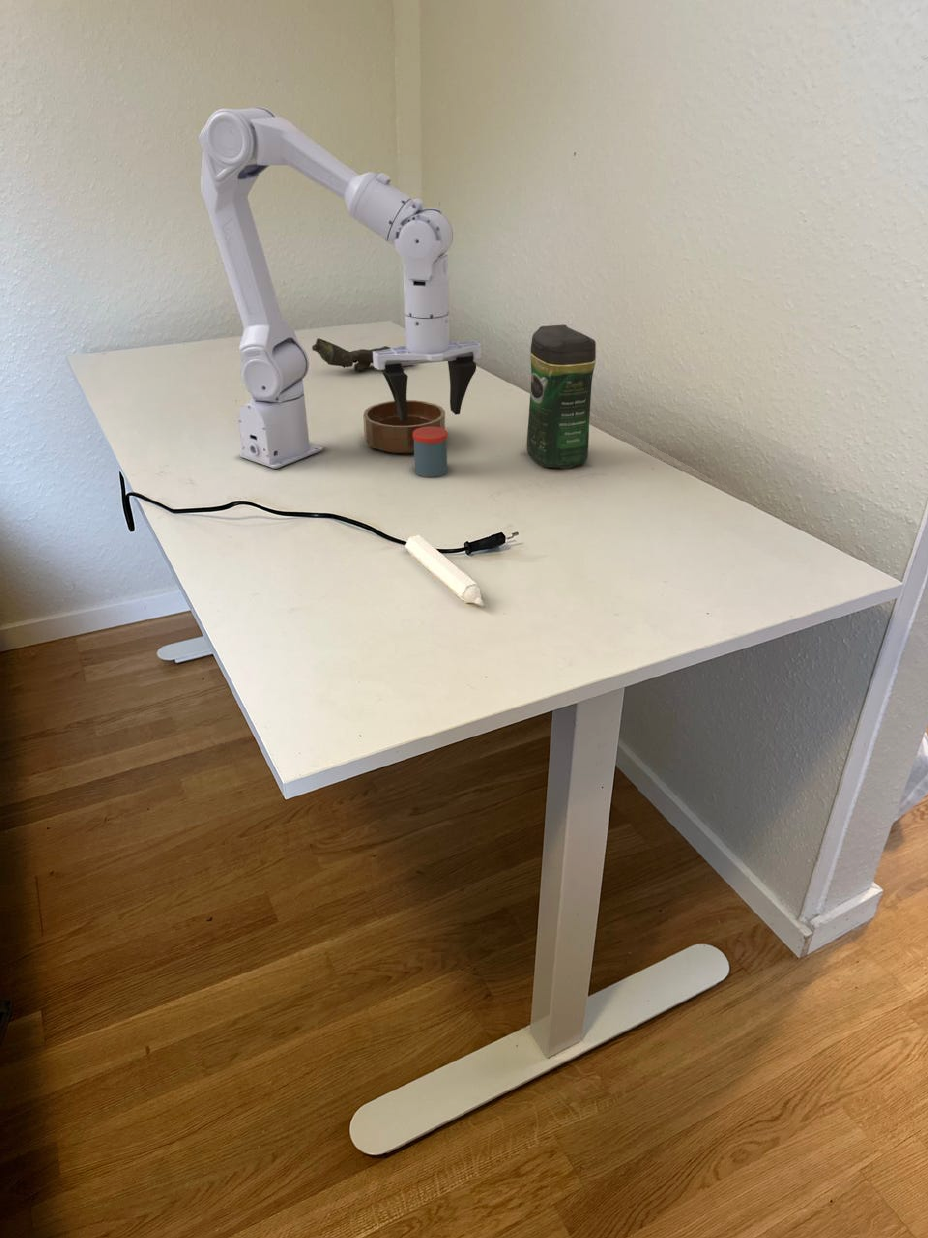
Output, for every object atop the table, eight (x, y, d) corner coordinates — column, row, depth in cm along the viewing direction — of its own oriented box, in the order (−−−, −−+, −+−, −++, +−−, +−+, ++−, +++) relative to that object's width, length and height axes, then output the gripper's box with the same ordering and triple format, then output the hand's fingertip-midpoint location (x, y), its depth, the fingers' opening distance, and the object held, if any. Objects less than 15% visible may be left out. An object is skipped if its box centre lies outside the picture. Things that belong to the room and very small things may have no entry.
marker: (483, 620, 89) (411, 556, 101) (498, 607, 90) (425, 544, 101) (472, 605, 88) (401, 541, 99) (488, 591, 88) (415, 530, 99)
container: (433, 480, 118) (432, 441, 115) (406, 472, 121) (405, 433, 118) (455, 469, 122) (454, 431, 119) (428, 461, 124) (427, 423, 121)
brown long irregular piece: (402, 373, 170) (306, 367, 160) (404, 344, 168) (307, 336, 158) (416, 376, 165) (318, 370, 155) (419, 347, 163) (319, 338, 153)
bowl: (409, 462, 124) (408, 432, 121) (348, 443, 130) (346, 415, 128) (461, 438, 132) (461, 410, 130) (401, 422, 138) (400, 394, 136)
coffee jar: (595, 466, 123) (607, 334, 113) (544, 473, 120) (552, 339, 110) (566, 443, 130) (575, 317, 120) (518, 449, 128) (523, 322, 118)
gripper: (381, 325, 105) (386, 431, 113) (490, 315, 110) (488, 418, 117) (366, 312, 111) (372, 414, 118) (470, 303, 115) (470, 402, 122)
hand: (429, 415), depth 118 cm, fingers open, 7 cm apart
